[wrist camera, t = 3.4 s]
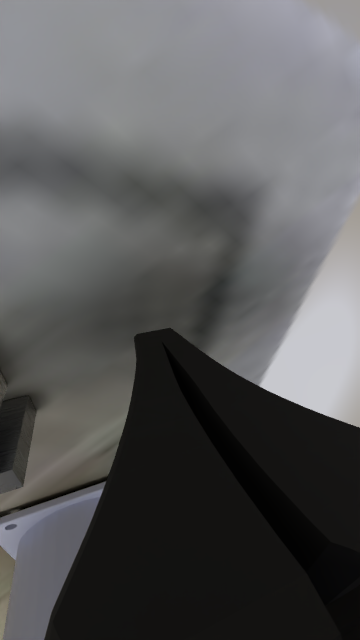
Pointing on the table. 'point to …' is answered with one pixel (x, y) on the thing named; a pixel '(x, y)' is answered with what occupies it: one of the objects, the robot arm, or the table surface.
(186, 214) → the table surface
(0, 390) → the bar
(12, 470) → the bracket
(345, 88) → the table surface
